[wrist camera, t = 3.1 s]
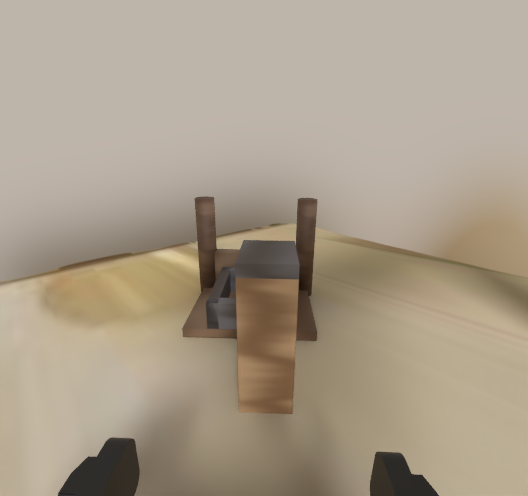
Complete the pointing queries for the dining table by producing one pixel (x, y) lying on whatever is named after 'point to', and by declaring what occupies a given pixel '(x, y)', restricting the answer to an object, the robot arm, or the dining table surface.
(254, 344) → the brown wooden block
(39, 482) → the dining table surface
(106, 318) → the dining table surface
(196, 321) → the board
